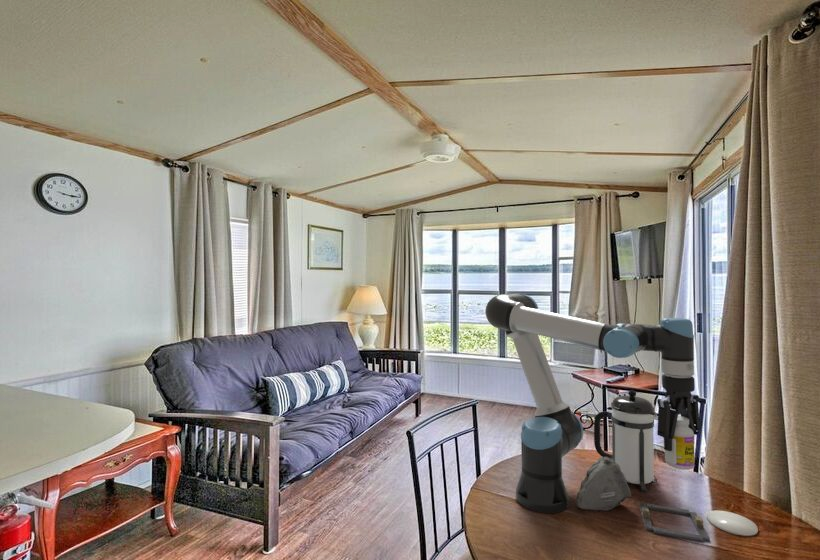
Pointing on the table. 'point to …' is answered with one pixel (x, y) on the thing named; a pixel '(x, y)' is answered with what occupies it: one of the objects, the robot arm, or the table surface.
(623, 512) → the table surface
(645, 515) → the grey square frame
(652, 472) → the coffee press
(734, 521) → the coaster
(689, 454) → the supplement bottle
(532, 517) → the table surface
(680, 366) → the robot arm
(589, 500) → the decorative rock
